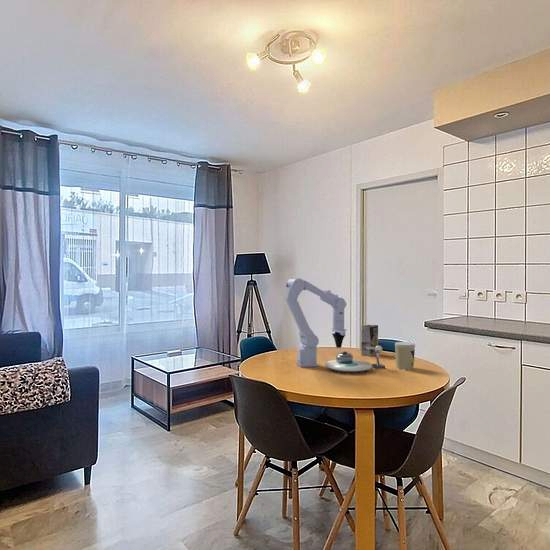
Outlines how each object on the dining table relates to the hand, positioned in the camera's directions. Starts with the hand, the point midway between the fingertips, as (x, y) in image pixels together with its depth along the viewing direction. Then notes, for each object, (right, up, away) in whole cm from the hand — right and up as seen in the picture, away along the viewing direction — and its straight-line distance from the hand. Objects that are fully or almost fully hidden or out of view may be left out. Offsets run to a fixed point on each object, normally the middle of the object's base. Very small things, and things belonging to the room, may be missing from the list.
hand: (338, 347), depth 216 cm
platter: (+3, -6, -14) cm, 15 cm away
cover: (+2, -6, -8) cm, 10 cm away
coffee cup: (+30, -8, -12) cm, 33 cm away
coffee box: (+20, -8, +20) cm, 30 cm away
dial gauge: (+16, -8, -11) cm, 21 cm away
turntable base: (+3, -8, -14) cm, 16 cm away
